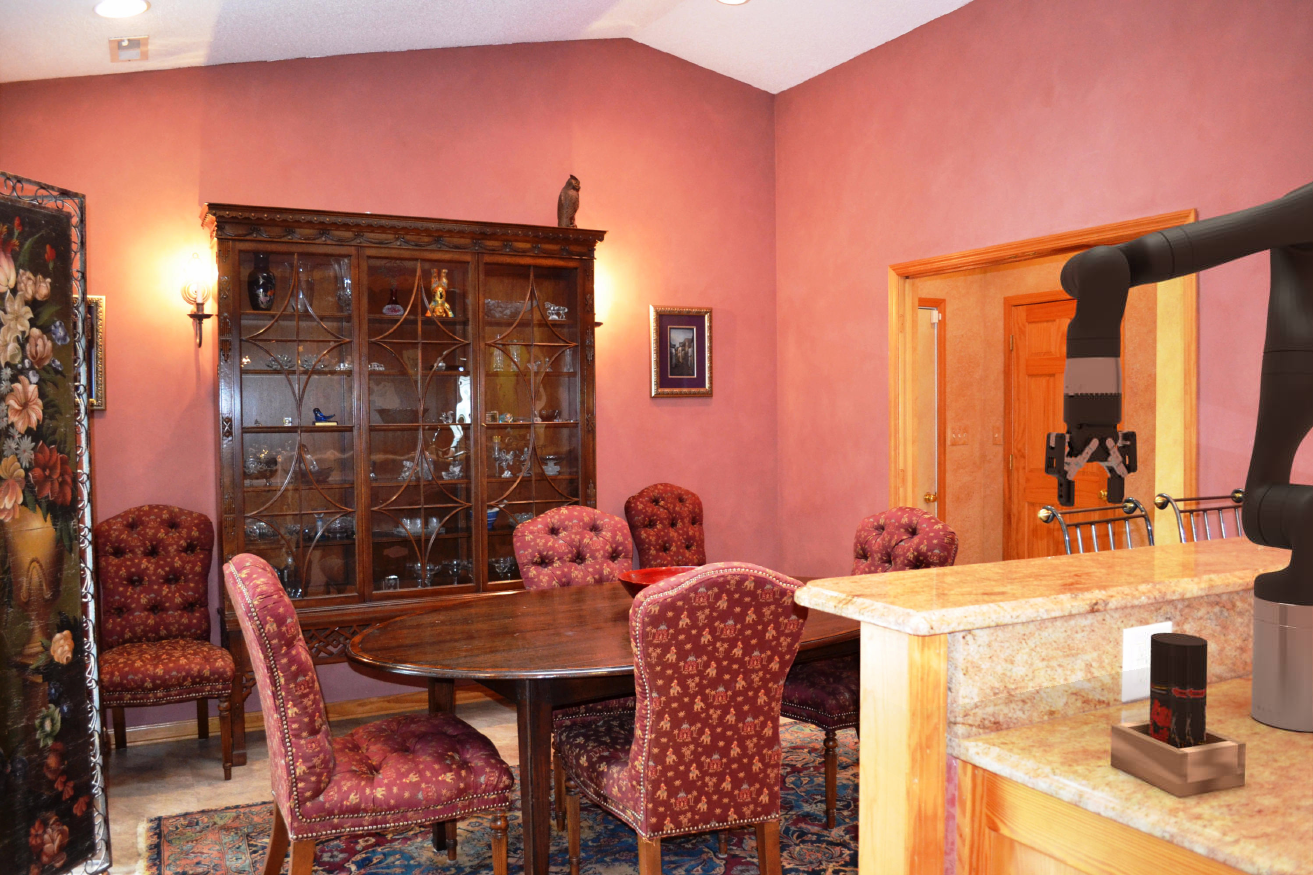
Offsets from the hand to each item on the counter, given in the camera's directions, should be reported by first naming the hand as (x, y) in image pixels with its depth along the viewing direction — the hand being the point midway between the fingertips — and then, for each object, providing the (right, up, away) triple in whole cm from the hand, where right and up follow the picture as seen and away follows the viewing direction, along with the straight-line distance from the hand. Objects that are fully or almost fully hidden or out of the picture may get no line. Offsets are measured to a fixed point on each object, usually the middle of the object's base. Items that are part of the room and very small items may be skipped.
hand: (1090, 504), depth 134 cm
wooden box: (+1, -31, -21) cm, 37 cm away
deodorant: (+1, -30, -21) cm, 36 cm away
